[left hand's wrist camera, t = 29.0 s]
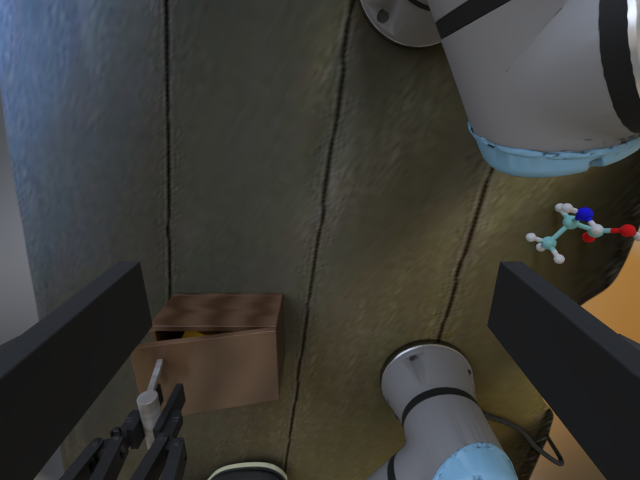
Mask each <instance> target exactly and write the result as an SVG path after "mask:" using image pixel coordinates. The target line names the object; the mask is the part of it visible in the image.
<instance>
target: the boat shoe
mask: <svg viewBox="0 0 640 480" xmlns="http://www.w3.org/2000/svg"><path fill="white" fill-rule="evenodd" d="M208 480H288V479H287V475H286V474H285V472H284V471H283V470H282V469H280V468H279V467H277V466H275V465H273V464H270V463H264V462H246V463H237V464H232V465H227V466H224V467H222V468H220V469H218V470H216V471H215V472H214V473H213V474H212V475H211V476H210V477H209V479H208Z"/></svg>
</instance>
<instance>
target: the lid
mask: <svg viewBox="0 0 640 480" xmlns="http://www.w3.org/2000/svg"><path fill="white" fill-rule="evenodd" d="M130 356H131V360H132V365H133V369H134V373H135V378H136V382H137V386H138V391H139V396H138V398H137V405H138V409H139V413H140V417H141V422H142V426H143V430H144V434H145V438H146V443H147V447H148V450H149V448H150V447H151V445H152V444H153V442H154V440H155V439H154V434H153V428H154V426H155V424H156V422H157V420H158V419H159V417H160V415H161V413H162V411H163V409H164V407H165V405H166V403H167V401H168V399H169V397H170V395H171V393H172V392H173V390H174V388H175V386H176V384H177V383H183V387H184V392H185V398H186V401H185V404H184V406H183V408H182V410H181V412H182V416H184V415H190V414H196V413H202V412H208V411H214V410H220V409H226V408H232V407H238V406H244V405H250V404H256V403H262V402H268V401H274V400H279V384H278V363H277V342H276V328H275V327H270V328H262V329H254V330H246V331H238V332H229V333H221V334H213V335H205V336H197V337H189V338H180V339H172V340H164V341H156V342H148V343H140V344H138V345H137V347H136V348H135V349H134V351H133V352H132V353H131V354H130ZM158 383H160V384H161V389H162V394H163V399H164V401H163V403H162V405H161V407H160V402H159V397H158V393H157V392H156V391H155V390H156V387H157V384H158Z"/></svg>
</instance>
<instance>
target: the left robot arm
mask: <svg viewBox="0 0 640 480" xmlns="http://www.w3.org/2000/svg"><path fill="white" fill-rule="evenodd" d="M358 1H359V4H360V7H361V10H362V12H363V14H364V16H365V18H366V19H367V21H368V23H369V24H370V25H371V27H372V28H373V29H374V30H375V31H376V32H377V33H378V34H379V35H380V36H381V37H383V38H384V39H386V40H387V41H389V42H391V43H393V44H395V45H398V46H401V47H405V48H413V49H418V48H426V47H431V46H434V45H437V44H439V43H442V45H443V48H444V51H445V54H446V57H447V60H448V63H449V65H450V68H451V71H452V74H453V77H454V80H455V82H456V85H457V88H458V91H459V94H460V97H461V100H462V102H463V105H464V108H465V111H466V114H467V117H468V128H469V131H470V133H471V134H472V135H473V137H474V138H475V139H476V141H477V144H478V146H479V149H480V151H481V154H482V156H483V158H484V160H485V161H486V162H487V163H488V164H489V165H490V166H491V167H493V168H494V169H495V170H497V171H500V172H502V173H505V174H508V175H513V176H519V177H556V176H564V175H570V174H576V173H581V172H585V171H587V170H588V168H589V167H590V166H606V165H609V164H612V163H614V162H617V161H619V160H621V159H623V158H625V157H627V156H629V155H630V154H632V153H634V152H635V151H637V150H638V149H639V148H640V0H358ZM152 326H153V325H152V320H151V315H150V310H149V305H148V300H147V295H146V290H145V285H144V280H143V275H142V270H141V266H140V262H118V263H116V264H115V265H114V266H112V267H111V268H110V269H108V270H107V271H106V272H104V273H103V274H102V275H100V276H99V277H98V278H96V279H95V280H94V281H92V282H91V283H90V284H88V285H87V286H86V287H84V288H83V289H82V290H80V291H79V292H78V293H76V294H75V295H74V296H72V297H71V298H70V299H68V300H67V301H66V302H64V303H63V304H62V305H60V306H59V307H58V308H56V309H55V310H54V311H52V312H51V313H50V314H48V315H47V316H46V317H44V318H43V319H42V320H40V321H39V322H38V323H36V324H35V325H34V326H32V327H31V328H30V329H28V330H27V331H26V332H24V333H23V334H22V335H20V336H18V337H16V338H14V339H12V340H10V341H8V342H6V343H4V344H2V345H0V480H33V479H34V478H35V477H36V475H37V474H38V473H39V472H40V470H41V469H42V468H43V466H44V465H45V464H46V462H47V461H48V460H49V459H50V457H51V456H52V455H53V454H54V452H55V451H56V450H57V448H58V447H59V446H60V445H61V443H62V442H63V441H64V439H65V438H66V437H67V436H68V434H69V433H70V432H71V430H72V429H73V428H74V427H75V425H76V424H77V423H78V421H79V420H80V419H81V418H82V416H83V415H84V414H85V412H86V411H87V410H88V409H89V407H90V406H91V405H92V403H93V402H94V401H95V400H96V398H97V397H98V396H99V394H100V393H101V392H102V391H103V389H104V388H105V387H106V385H107V384H108V383H109V381H110V380H111V379H112V378H113V376H114V375H115V374H116V372H117V371H118V370H119V369H120V367H121V366H122V365H123V363H124V362H125V361H126V360H127V358H128V357H129V356H130V354H131V353H132V352H133V351H134V349H135V348H136V347H137V345H138V344H139V343H140V342H141V340H142V339H143V338H144V336H145V335H146V334H147V333H148V331H149V330H150V329H151V327H152ZM487 326H488V327H489V329H490V330H491V331H492V333H493V334H494V335H495V336H496V338H497V339H498V340H499V342H500V343H501V344H502V345H503V347H504V348H505V349H506V351H507V352H508V353H509V354H510V356H511V357H512V358H513V360H514V361H515V362H516V363H517V365H518V366H519V367H520V369H521V370H522V371H523V372H524V374H525V375H526V376H527V378H528V379H529V380H530V381H531V383H532V384H533V385H534V387H535V388H536V389H537V391H538V392H539V393H540V394H541V396H542V397H543V398H544V400H545V401H546V402H547V403H548V405H549V406H550V407H551V409H552V410H553V411H554V412H555V414H556V415H557V416H558V418H559V419H560V420H561V421H562V423H563V424H564V425H565V426H566V428H567V429H568V430H569V432H570V433H571V434H572V436H573V437H574V438H575V439H576V441H577V442H578V443H579V445H580V446H581V447H582V448H583V450H584V451H585V452H586V454H587V455H588V456H589V457H590V459H591V460H592V461H593V463H594V464H595V465H596V466H597V468H598V469H599V470H600V471H601V473H602V474H603V475H604V477H605V478H606V479H607V480H640V344H639V343H637V342H635V341H633V340H631V339H629V338H627V337H625V336H623V335H621V334H617V333H616V332H614V331H613V330H612V329H610V328H609V327H608V326H606V325H605V324H604V323H602V322H601V321H600V320H598V319H597V318H596V317H594V316H593V315H592V314H590V313H589V312H588V311H586V310H585V309H584V308H582V307H581V306H580V305H578V304H577V303H576V302H574V301H573V300H572V299H570V298H569V297H568V296H566V295H565V294H564V293H562V292H561V291H560V290H558V289H557V288H556V287H554V286H553V285H552V284H550V283H549V282H548V281H546V280H545V279H544V278H542V277H541V276H540V275H538V274H537V273H536V272H534V271H533V270H532V269H530V268H529V267H528V266H526V265H525V264H524V263H522V262H500V266H499V270H498V275H497V280H496V285H495V290H494V295H493V300H492V305H491V310H490V315H489V320H488V325H487Z"/></svg>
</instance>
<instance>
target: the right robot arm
mask: <svg viewBox="0 0 640 480" xmlns="http://www.w3.org/2000/svg"><path fill="white" fill-rule="evenodd" d="M380 383H381V388H382V392H383V395H384V398H385V399H386V401H387V403H388V404H389V406H390V407H391V408H392V409H393V410H394V412H395V413H396V415H397V416H396V415H395V414H394V413H393V412H392V413H393V415H394V416H395V417H396V418H397V419H398V420H399V421H400V422H401V423H402V426H403V430H404V434H405V438H406V445H405V446H404V447H403V448H402V449H400V450H399V451H398V452H397V453H396V454H395V455H394V456H392V457H391V458H390V459H389V460H388V461H387V462H385V463H384V464H383V465H382V466H381V467H380V468H378V469H377V470H376V471H375V472H374V473H373V474H371V475H370V476H369V477H368V478H367V479H366V480H518V478H517V475H516V473H515V470H514V467H513V465H512V462H511V460H510V459H509V457H508V456H507V455H506V453H505V452H504V450H503V449H502V447H501V445H500V443H499V441H498V440H497V438H496V436H495V434H494V432H493V431H492V429H491V427H490V425H489V423H488V421H487V420H486V418H487V419H490V420H493V421H496V422H499V423H502V424H505V425H507V426H510V427H512V428H514V429H515V430H517V431H518V432H520V433H521V434H522V435H523V436H524V437H525V438H526V439H527V441H528V442H529V443H530V444H531V446H532V447H533V448H534V449H535V450H537V451H538V452H539V453H540V454H542V455H543V456H544V457H546V458H547V459H548V460H550V461H551V462H553V463H554V464H556V465H558V466H563V465H564V460H563V457H562V456H561V454H560V452H559V451H558V449H557V448H556V446H555V445H554V443H553V441H552V440H551V438H550V437H548V439H547V441H548V443H549V444H550V446H551V448H552V449H553V451H554V452H555V454H556V456H557V458H558V460H559V461H558V460H556V459H555V458H553V457H552V456H550V455H549V454H548V453H546V452H545V451H544V450H543V449H541V448H540V447H539V446H538V445H537V444H536V443H535V442H534V441H533V440H532V438H531V437H530V436H529V435H528V434H527V433H526V431H524V430H523V429H522V428H521V427H519V426H518V425H516V424H514V423H512V422H510V421H507V420H505V419H502V418H499V417H496V416H493V415H490V414H487V413H485V412H482V410H481V409H480V407H479V405H478V403H477V401H476V394H475V386H474V378H473V373H472V369H471V366H470V364H469V363H468V361H467V359H466V358H465V356H464V355H463V353H462V352H461V351H460V350H459V349H457V348H456V347H455V346H453V345H451V344H449V343H446V342H443V341H439V340H420V341H415V342H412V343H409V344H407V345H404V346H402V347H401V348H399V349H398V350H396V351H395V352H394V353H392V354H391V355H390V356H389V358H388V359H387V360H386V362H385V363H384V365H383V367H382V370H381V375H380ZM155 391H156V392H157V393H158V397H159V402H160V407H161V405H162V403H163V401H164V399H163V394H162V389H161V384H160V383H158V384H157V387H156V390H155ZM185 401H186V398H185V392H184V387H183V383H177V384H176V386H175V388H174V390H173V392H172V393H171V395H170V397H169V399H168V401H167V403H166V405H165V407H164V409H163V411H162V413H161V415H160V417H159V419H158V420H157V422H156V424H155V426H154V428H153V434H154V439H155V440H154V442H153V444H152V445H151V447H150V448H149V450H148V452H147V453H146V455H145V457H144V458H143V460H142V462H141V463H140V465H139V466H138V468H137V470H136V471H135V473H134V475H133V476H132V478H131V480H158V479H159V477H160V475H161V473H162V471H163V469H164V471H163V474H162V478H161V480H182V479H183V474H184V470H185V466H186V461H187V453H186V448H185V443H184V439H183V438H182V437H178V438H177V436H178V433H179V431H180V429H181V427H182V424H183V418H182V412H181V410H182V408H183V406H184V404H185ZM110 435H111V438H109V439H106V440H103V439H102V438H96V439H94V440H92V441H91V442H90V443H89V445H88V446H87V447H86V448H85V449H84V451H83V452H82V453H81V454H80V455H79V457H78V458H77V459H76V460H75V461H74V463H73V464H72V465H71V466H70V467H69V468H68V470H67V471H66V472H65V473H64V474H63V476H62V477H61V478H60V479H59V480H117V477H118V475H119V473H120V471H121V468H122V466H123V464H124V462H125V459H126V457H127V455H128V452H129V451H128V448H129V446H130V447H131V449H138V448H139V446H140V444H141V443H142V441H143V439H144V437H145V434H144V430H143V426H142V422H141V417H140V413H139V409H138V410H133V411H132V412H131V413H130V414H129V415H128V417H127V419H126V420H125V422H124V423H123V425H122V426H121V427H119V426H118V427H115V428H113V429H112V430H111V431H110Z"/></svg>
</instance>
